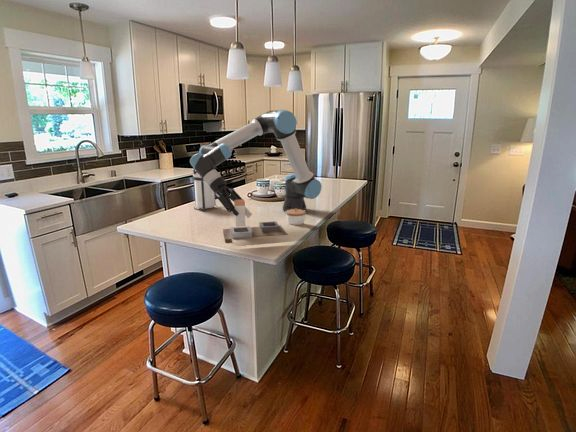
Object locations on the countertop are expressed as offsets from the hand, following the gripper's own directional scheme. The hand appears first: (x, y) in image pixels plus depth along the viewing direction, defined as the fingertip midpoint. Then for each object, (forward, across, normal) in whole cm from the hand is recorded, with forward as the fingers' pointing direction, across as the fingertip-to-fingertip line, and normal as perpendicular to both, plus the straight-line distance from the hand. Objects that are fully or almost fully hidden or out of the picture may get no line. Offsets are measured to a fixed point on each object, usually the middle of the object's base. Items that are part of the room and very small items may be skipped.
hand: (246, 218), depth 158 cm
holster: (+10, -14, -2) cm, 17 cm away
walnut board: (+8, -7, -7) cm, 12 cm away
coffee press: (-29, -43, -44) cm, 68 cm away
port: (+4, 0, -9) cm, 9 cm away
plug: (0, 0, -5) cm, 5 cm away
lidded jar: (+17, -30, +3) cm, 34 cm away
